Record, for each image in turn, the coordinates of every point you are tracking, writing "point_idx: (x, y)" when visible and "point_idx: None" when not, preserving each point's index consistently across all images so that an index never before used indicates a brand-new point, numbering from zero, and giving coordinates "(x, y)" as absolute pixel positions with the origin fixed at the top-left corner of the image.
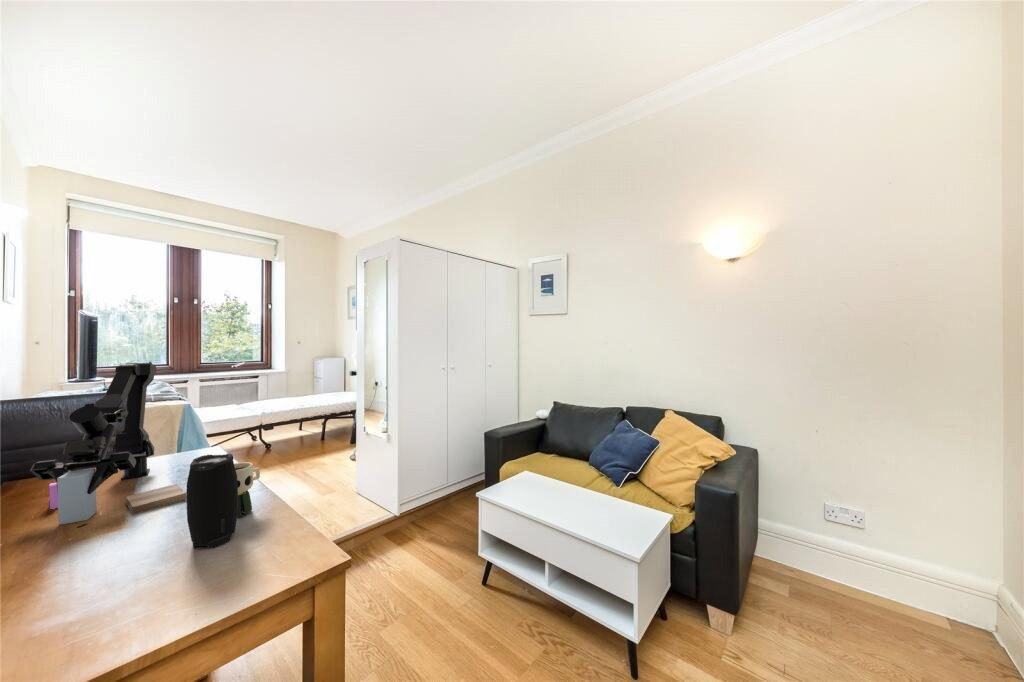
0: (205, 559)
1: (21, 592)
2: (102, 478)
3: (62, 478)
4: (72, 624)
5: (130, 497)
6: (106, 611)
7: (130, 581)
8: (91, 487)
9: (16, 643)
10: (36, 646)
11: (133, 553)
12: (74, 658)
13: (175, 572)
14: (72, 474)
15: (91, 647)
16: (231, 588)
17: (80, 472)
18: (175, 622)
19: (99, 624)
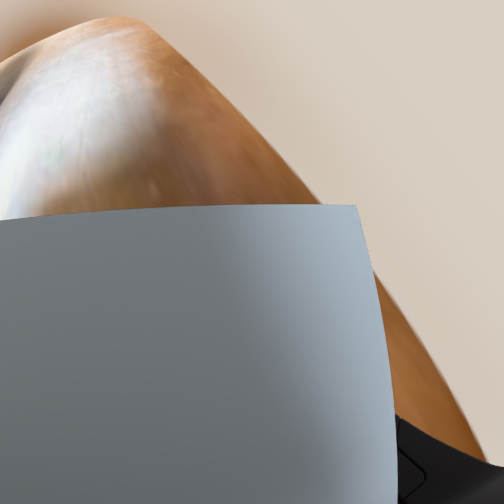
0: (4, 88)
1: (165, 54)
2: None
3: (274, 214)
4: (106, 32)
5: None
6: (85, 39)
7: (63, 61)
8: None
9: (139, 23)
10: (126, 22)
11: (46, 102)
12: (103, 21)
13: (30, 72)
14: (174, 376)
15: (95, 25)
16: (16, 60)
17: (71, 467)
18: (53, 38)
19: (90, 33)
